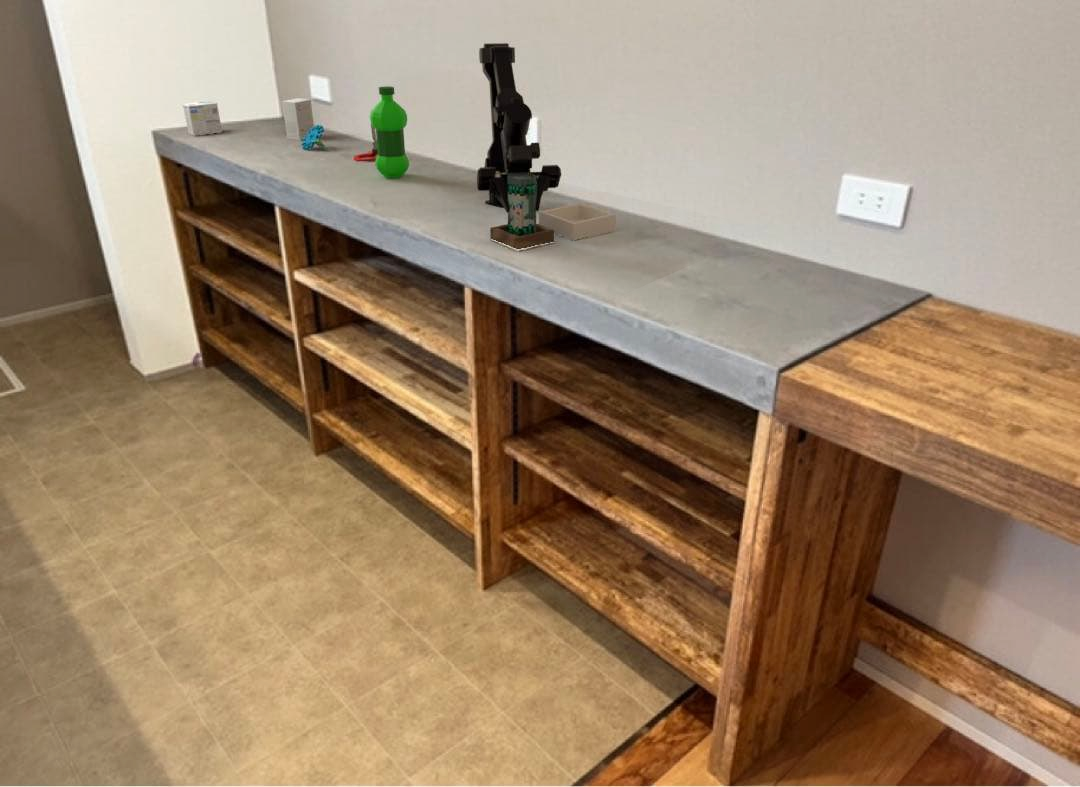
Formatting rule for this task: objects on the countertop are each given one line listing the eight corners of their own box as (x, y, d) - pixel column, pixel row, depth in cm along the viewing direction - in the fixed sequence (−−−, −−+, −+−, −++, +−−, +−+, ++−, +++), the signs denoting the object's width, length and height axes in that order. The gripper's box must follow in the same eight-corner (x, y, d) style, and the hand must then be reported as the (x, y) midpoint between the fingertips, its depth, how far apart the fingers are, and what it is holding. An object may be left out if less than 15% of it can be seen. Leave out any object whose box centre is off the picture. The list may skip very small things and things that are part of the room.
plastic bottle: (377, 172, 251) (369, 85, 239) (412, 172, 251) (406, 84, 240) (373, 180, 242) (365, 90, 230) (409, 180, 243) (403, 89, 231)
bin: (538, 228, 200) (538, 211, 198) (579, 218, 207) (580, 203, 205) (573, 241, 191) (573, 224, 189) (615, 231, 198) (615, 214, 196)
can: (505, 244, 189) (504, 178, 182) (514, 236, 194) (513, 172, 187) (530, 247, 187) (530, 180, 180) (539, 239, 192) (539, 174, 185)
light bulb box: (216, 130, 310) (211, 100, 305) (223, 133, 305) (217, 102, 300) (187, 133, 304) (181, 103, 299) (193, 136, 299) (188, 105, 294)
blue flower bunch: (296, 141, 283) (315, 119, 282) (309, 152, 288) (328, 130, 287) (306, 152, 276) (325, 129, 275) (319, 163, 280) (338, 140, 279)
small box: (302, 135, 302) (297, 97, 296) (315, 137, 300) (311, 99, 294) (286, 139, 296) (281, 100, 290) (300, 140, 293) (295, 102, 287)
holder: (490, 240, 191) (490, 227, 190) (526, 232, 197) (526, 220, 195) (517, 251, 184) (517, 238, 182) (554, 243, 190) (554, 230, 188)
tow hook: (366, 164, 263) (387, 158, 269) (360, 122, 256) (382, 117, 263) (348, 161, 267) (369, 154, 274) (342, 119, 261) (364, 114, 267)
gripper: (476, 130, 181) (483, 193, 177) (560, 128, 184) (569, 190, 179) (473, 159, 192) (480, 219, 187) (553, 156, 194) (561, 216, 190)
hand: (522, 210), depth 186 cm, fingers closed on can, 6 cm apart
